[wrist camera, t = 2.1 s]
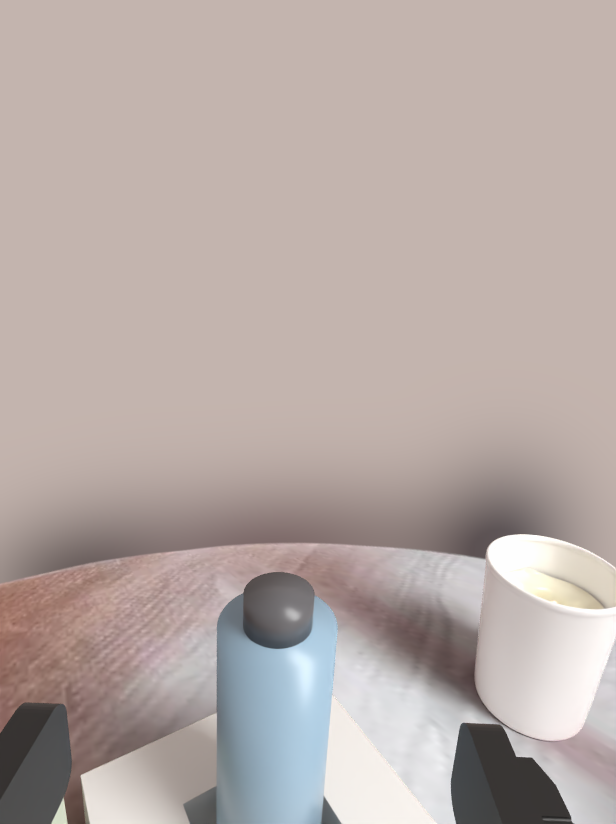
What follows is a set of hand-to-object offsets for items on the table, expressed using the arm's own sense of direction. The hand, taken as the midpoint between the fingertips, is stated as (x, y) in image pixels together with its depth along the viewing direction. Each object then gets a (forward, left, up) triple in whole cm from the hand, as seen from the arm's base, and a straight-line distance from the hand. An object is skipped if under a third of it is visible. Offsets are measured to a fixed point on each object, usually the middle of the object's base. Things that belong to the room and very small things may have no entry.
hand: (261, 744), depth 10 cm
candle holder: (-10, +30, -23) cm, 39 cm away
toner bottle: (-10, +6, -22) cm, 25 cm away
